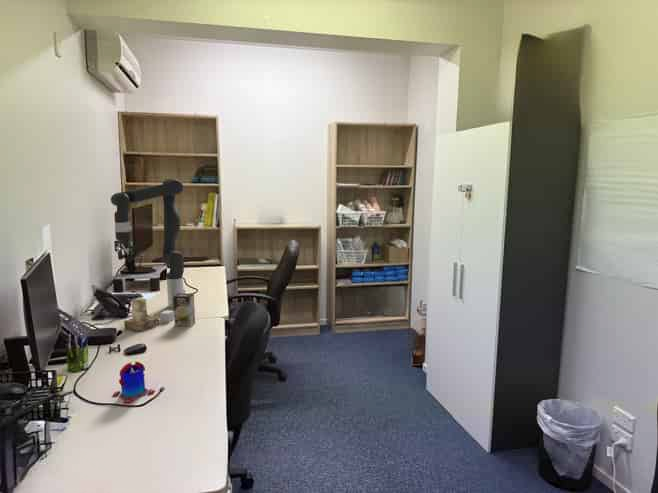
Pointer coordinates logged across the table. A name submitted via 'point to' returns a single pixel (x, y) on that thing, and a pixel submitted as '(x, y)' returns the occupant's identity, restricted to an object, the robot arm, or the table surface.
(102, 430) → the table surface
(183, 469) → the table surface
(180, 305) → the coffee box
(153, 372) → the table surface
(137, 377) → the fantasy tower
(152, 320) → the walnut block
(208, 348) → the table surface
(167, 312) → the grey block
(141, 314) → the oak block
